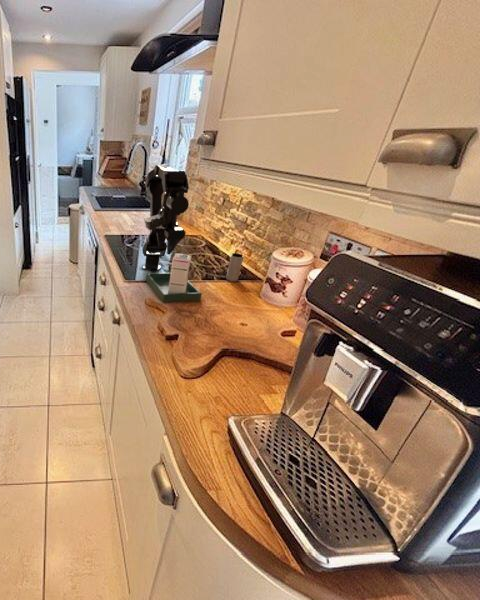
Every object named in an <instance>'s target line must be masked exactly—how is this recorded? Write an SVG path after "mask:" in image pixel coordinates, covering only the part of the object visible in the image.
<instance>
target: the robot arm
mask: <svg viewBox="0 0 480 600" xmlns="http://www.w3.org/2000/svg"><path fill="white" fill-rule="evenodd" d="M144 185H145V188H146V194H147V195H148V197H149V198H150V199H149V201H150V202H149V203H150V204H149V205H150V206H149V207H150V208H149V209H150V210H149V217H146V218H145V219H144V224H145V229H147V230H148V231H149V234H148V236H147V237H146V238H145V242H144V244H143V246H142V254H143V256H144V257H145V261H144V262H145V263H144V265H143V266H142V267H141V269H142V270H147V271H150V272H158V271H159V270H160V269H161V267H162V266H161V265H160V258H161V257H165V255H166V254H167V255H171V254H172V253H173V251H174V250H175V248H176V247H177V246H178V244H179V243H180V242H181V241H182V240H183V239H186V233H187V231H185V229H183V228H182V227H179V223H178V222H177V220H178V216H180V215H182V214H184V213H186V211H187V210H188V208H189V205H190V204H189V200H188V198H187V197H185V194H188V193H189V189H190V186H189V180H188V175H187V174H186V171H185V170H177V169H176V170H175V169H173V168H172V167H170V165H169V164H155V166H154V167H153V169H152V170H150V171H149V172H148V173H147V175H146V178H145V182H144ZM162 197H163V198H162Z"/></svg>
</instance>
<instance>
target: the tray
mask: <svg viewBox="0 0 480 600" xmlns="http://www.w3.org/2000/svg"><path fill="white" fill-rule="evenodd" d="M170 274H171V272H150V273H149V272H148V273H146V275H145V281H146V283H147V284H148V286H149V287H150V288H151V290H153V292H154V293H155V295H156V296H157V297H158V298H159V299H160V301H161V302H162V303H180V302H181V303H182V302H183V303H185V302H200V301H201V299H202V292H201V291H200V290H199V288H197V287H195V285H194V284H192V283H191V282H190V281H189V280H188V281H187V287H186V293H170V294H168V289H169V282H170Z"/></svg>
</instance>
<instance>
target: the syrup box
mask: <svg viewBox="0 0 480 600" xmlns="http://www.w3.org/2000/svg"><path fill="white" fill-rule="evenodd" d="M191 262H192V255H191V254H187V253H178V252H177V253H176V252H175V254H174V255H173V257H172V261H171V268H170V273H171V274H170V282H169V289H168V294H170V293H186V287H187V281H189V275H190V274H189V273H190V268H191Z"/></svg>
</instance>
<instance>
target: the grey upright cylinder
mask: <svg viewBox="0 0 480 600" xmlns="http://www.w3.org/2000/svg"><path fill="white" fill-rule="evenodd" d="M244 257H245V255H244V254H242V253H231V255H230V258H229V262H228V267H227V271H226V275H225V279H226V280H227V281H229V282H237V281H239V277H240V273H241V269H242V265H243V262H244Z"/></svg>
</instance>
